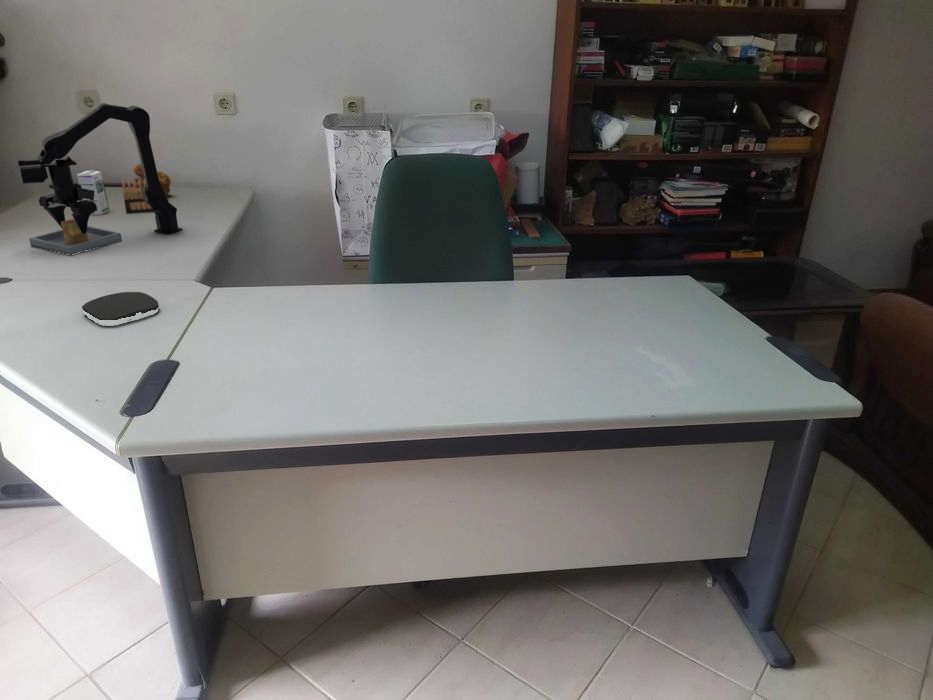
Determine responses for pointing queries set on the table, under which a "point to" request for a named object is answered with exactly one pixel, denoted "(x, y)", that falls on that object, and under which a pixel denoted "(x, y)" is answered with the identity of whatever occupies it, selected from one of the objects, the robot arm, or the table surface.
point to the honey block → (73, 232)
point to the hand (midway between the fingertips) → (74, 231)
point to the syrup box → (95, 189)
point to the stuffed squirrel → (162, 177)
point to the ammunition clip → (135, 198)
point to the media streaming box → (120, 305)
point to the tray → (58, 244)
